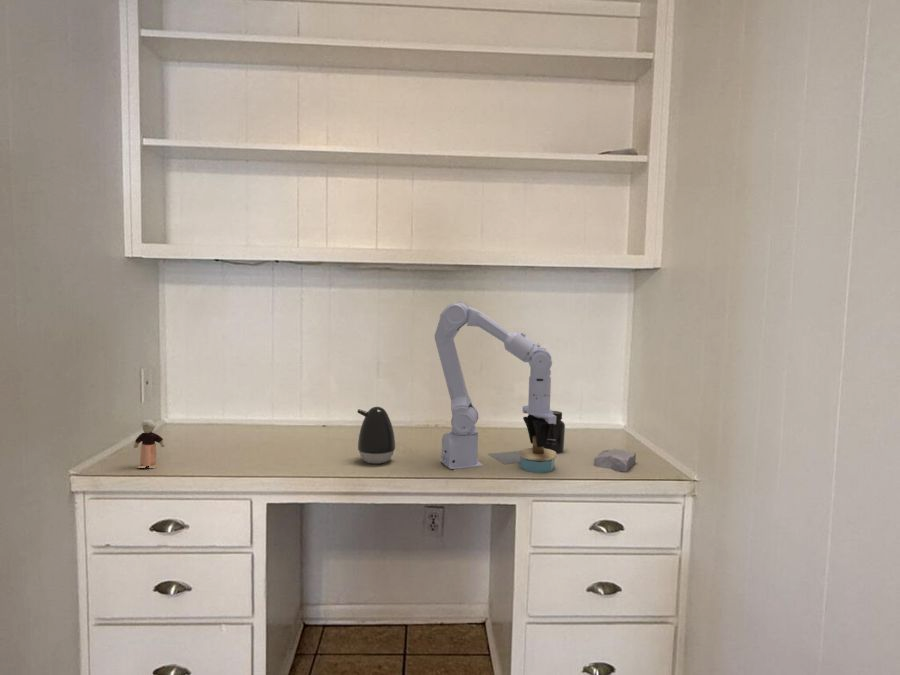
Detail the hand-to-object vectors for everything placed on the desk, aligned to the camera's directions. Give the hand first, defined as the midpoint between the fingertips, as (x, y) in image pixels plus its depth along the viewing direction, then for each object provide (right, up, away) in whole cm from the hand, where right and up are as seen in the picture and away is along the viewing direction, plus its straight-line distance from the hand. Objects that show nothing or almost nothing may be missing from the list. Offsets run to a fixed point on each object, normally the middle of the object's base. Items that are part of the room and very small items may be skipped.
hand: (537, 444), depth 164 cm
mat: (-6, -6, +10) cm, 13 cm away
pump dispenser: (-44, -6, +5) cm, 44 cm away
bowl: (0, -7, +1) cm, 7 cm away
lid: (0, -3, 0) cm, 3 cm away
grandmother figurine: (-101, -5, -5) cm, 101 cm away
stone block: (+22, -7, +6) cm, 24 cm away
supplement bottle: (+7, -6, +18) cm, 20 cm away
